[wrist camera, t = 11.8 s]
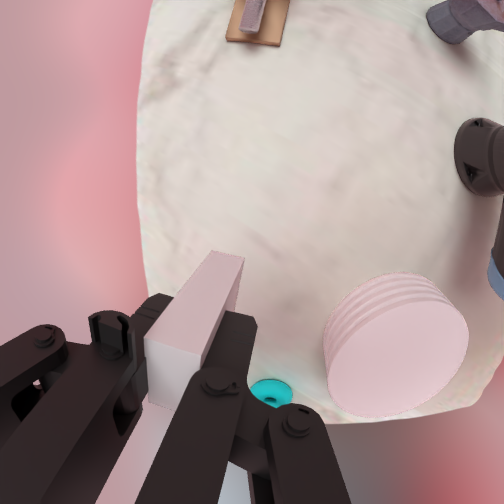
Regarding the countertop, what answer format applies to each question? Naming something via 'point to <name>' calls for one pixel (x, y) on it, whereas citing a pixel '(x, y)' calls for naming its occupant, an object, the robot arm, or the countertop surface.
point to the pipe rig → (258, 21)
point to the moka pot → (465, 18)
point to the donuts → (272, 392)
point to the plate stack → (392, 345)
